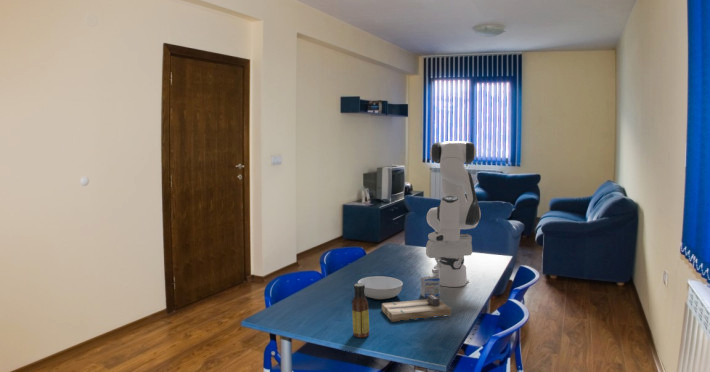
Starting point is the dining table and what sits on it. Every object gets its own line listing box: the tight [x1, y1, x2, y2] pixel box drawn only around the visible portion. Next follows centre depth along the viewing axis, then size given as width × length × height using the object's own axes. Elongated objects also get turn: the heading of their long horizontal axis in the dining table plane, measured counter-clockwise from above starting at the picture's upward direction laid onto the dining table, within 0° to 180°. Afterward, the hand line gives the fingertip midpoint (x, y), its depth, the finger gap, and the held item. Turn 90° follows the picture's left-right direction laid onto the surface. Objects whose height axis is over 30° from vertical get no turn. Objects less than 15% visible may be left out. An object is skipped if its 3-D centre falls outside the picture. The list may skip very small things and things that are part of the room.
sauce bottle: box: [351, 282, 370, 338], centre depth 196 cm, size 6×6×20 cm
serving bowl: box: [357, 275, 404, 300], centre depth 242 cm, size 21×21×7 cm
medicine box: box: [420, 276, 441, 298], centre depth 243 cm, size 8×4×9 cm, turn 105°
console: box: [381, 298, 452, 323], centre depth 220 cm, size 14×26×3 cm, turn 105°
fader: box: [426, 295, 441, 306], centre depth 222 cm, size 6×3×3 cm, turn 15°
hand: (449, 266), depth 222 cm, fingers open, 7 cm apart
